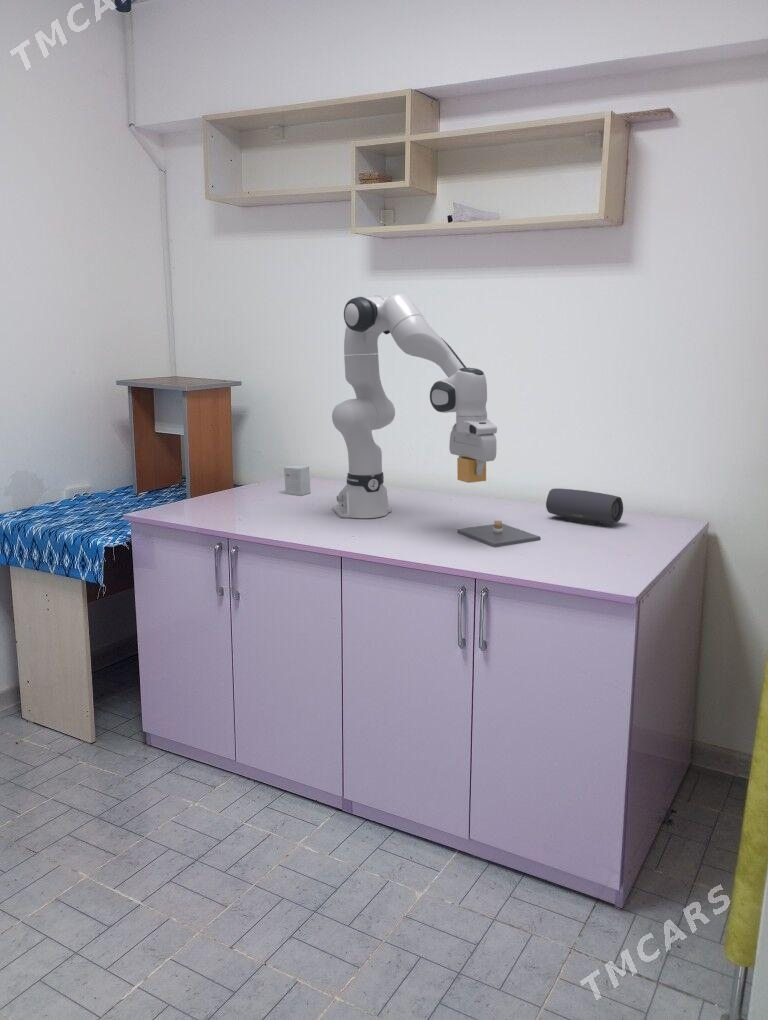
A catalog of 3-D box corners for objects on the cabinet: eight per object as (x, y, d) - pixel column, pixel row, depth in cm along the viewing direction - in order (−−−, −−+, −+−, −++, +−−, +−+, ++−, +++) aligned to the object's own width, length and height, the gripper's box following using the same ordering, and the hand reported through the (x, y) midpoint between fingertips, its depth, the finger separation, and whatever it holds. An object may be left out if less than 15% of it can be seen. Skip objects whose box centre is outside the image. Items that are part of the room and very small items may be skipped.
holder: (457, 532, 253) (457, 518, 252) (501, 526, 260) (501, 512, 259) (494, 547, 235) (494, 531, 234) (540, 540, 242) (540, 525, 241)
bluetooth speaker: (623, 524, 260) (625, 492, 258) (609, 529, 253) (611, 497, 251) (559, 514, 275) (560, 484, 273) (544, 519, 268) (545, 489, 266)
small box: (310, 493, 317) (309, 466, 315) (301, 496, 312) (300, 468, 310) (294, 491, 321) (293, 464, 319) (285, 494, 316) (283, 466, 314)
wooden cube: (457, 479, 242) (457, 457, 241) (475, 477, 245) (475, 456, 244) (468, 482, 237) (468, 460, 236) (486, 480, 240) (486, 458, 238)
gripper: (443, 423, 246) (444, 469, 249) (481, 429, 228) (481, 479, 230) (462, 421, 248) (462, 467, 251) (500, 427, 230) (500, 476, 233)
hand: (471, 473), depth 241 cm, fingers closed on wooden cube, 6 cm apart
